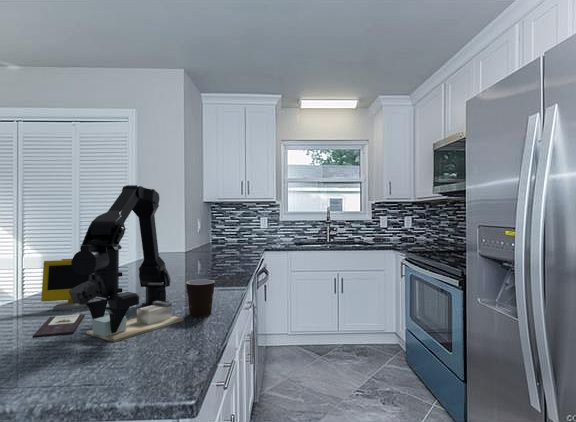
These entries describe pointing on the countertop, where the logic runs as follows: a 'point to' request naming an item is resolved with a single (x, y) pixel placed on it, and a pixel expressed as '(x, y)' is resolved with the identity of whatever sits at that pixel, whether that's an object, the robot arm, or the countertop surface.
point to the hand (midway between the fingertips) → (106, 330)
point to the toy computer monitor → (60, 283)
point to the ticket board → (137, 328)
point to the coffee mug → (200, 297)
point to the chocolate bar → (59, 326)
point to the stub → (106, 326)
